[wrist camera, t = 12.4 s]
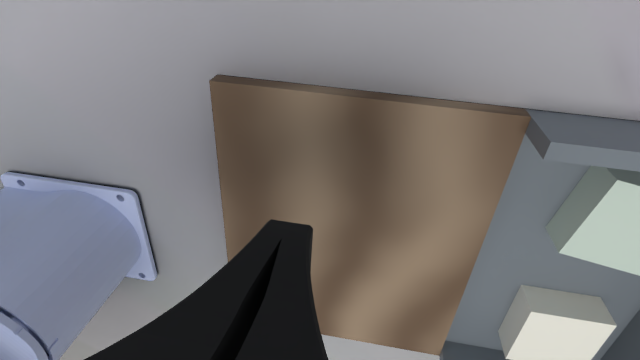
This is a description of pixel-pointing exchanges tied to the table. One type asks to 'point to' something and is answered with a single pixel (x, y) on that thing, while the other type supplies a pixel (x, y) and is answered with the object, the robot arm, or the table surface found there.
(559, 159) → the tray
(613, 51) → the table surface
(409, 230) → the walnut board
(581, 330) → the cream tile
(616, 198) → the sage tile
